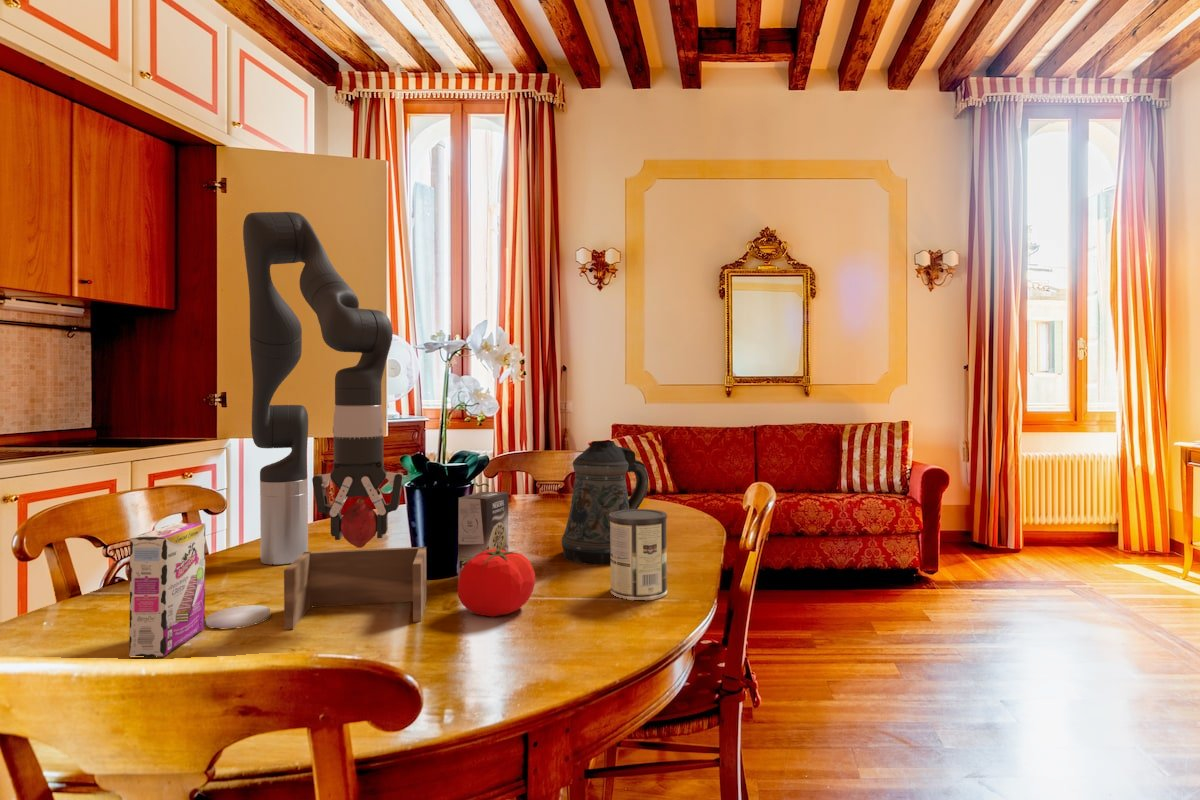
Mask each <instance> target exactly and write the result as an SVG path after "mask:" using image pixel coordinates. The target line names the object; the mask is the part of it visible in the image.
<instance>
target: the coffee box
mask: <svg viewBox="0 0 1200 800" xmlns="http://www.w3.org/2000/svg"><path fill="white" fill-rule="evenodd" d="M509 494H510V493H509V492H505V491H503V492H500V491H488V492H487V491H480V492H476V493H471V494H468V495H464V496H461V497H458V513H457V514H458V516H457V517H458V518H457V520H458V521H457V523H458V526H457V528H458V529H457V531H458V533H457V534H458V535H457V536H458V537H457V539H458V540H457V542H458V545H457V551H458V552H457V553H458V554H457V555H458V561H457V562H458V563H457V565H458V566H457V567H458V568H457V573H458V574H457V579H458V580H457V581H458V582H459V576H460V571H461V570H462V569H463V567H464V566H465V564H466V563H467V562H468V561H470V560H471V559H473V558H474V557H475V555H477V554H479V553H481V552H482V551H484V550H487V549H497V548H500V549H501V550H505V551H508V552H510V550H509V548H510V547H509V544H510V542H509ZM480 548H481V549H480ZM482 549H484V550H482Z"/></svg>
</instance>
